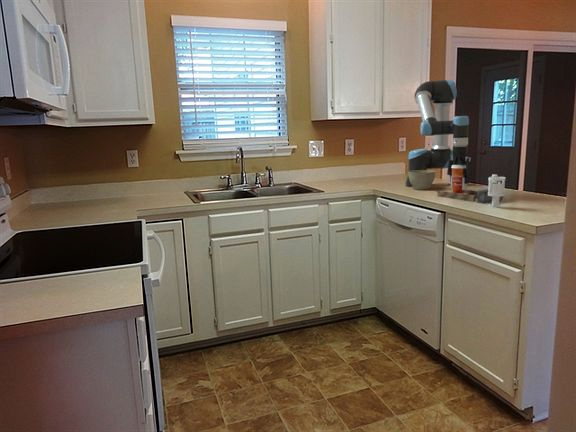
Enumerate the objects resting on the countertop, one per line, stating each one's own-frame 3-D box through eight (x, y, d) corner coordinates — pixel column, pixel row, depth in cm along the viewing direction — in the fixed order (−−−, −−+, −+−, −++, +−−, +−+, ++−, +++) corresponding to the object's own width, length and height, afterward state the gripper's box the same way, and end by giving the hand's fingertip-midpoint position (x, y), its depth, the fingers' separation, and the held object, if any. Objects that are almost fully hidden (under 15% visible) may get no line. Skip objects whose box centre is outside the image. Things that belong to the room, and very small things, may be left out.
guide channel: (437, 196, 236) (437, 185, 235) (456, 193, 242) (456, 182, 241) (483, 203, 210) (483, 191, 208) (503, 200, 216) (503, 188, 214)
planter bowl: (436, 190, 255) (437, 172, 253) (408, 191, 258) (409, 173, 256) (433, 186, 270) (433, 169, 268) (407, 187, 274) (407, 170, 272)
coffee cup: (447, 192, 232) (448, 165, 229) (455, 191, 237) (456, 163, 234) (461, 194, 225) (463, 165, 222) (469, 192, 231) (471, 164, 227)
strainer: (498, 205, 204) (500, 173, 201) (506, 207, 197) (508, 175, 194) (484, 206, 204) (485, 174, 201) (491, 208, 197) (493, 176, 194)
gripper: (440, 146, 233) (439, 187, 238) (470, 146, 216) (468, 191, 220) (450, 145, 237) (449, 186, 241) (481, 145, 219) (479, 190, 224)
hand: (458, 188), depth 231 cm, fingers closed on coffee cup, 7 cm apart
